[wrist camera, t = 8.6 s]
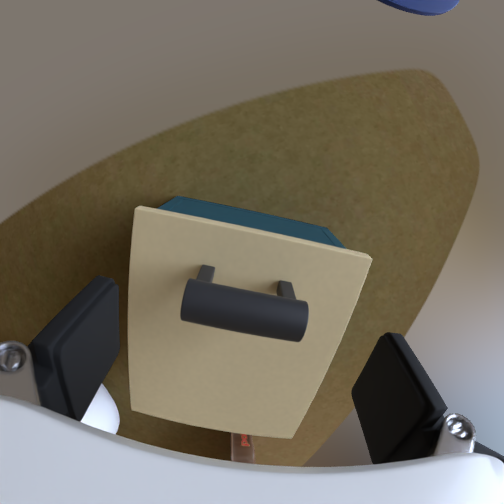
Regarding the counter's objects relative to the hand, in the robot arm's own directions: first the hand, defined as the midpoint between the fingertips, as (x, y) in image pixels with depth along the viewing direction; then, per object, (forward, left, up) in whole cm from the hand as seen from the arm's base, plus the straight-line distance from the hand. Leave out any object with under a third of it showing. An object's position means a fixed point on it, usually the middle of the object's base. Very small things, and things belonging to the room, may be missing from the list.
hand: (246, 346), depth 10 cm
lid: (+5, 0, -7) cm, 9 cm away
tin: (+28, +5, -16) cm, 32 cm away
